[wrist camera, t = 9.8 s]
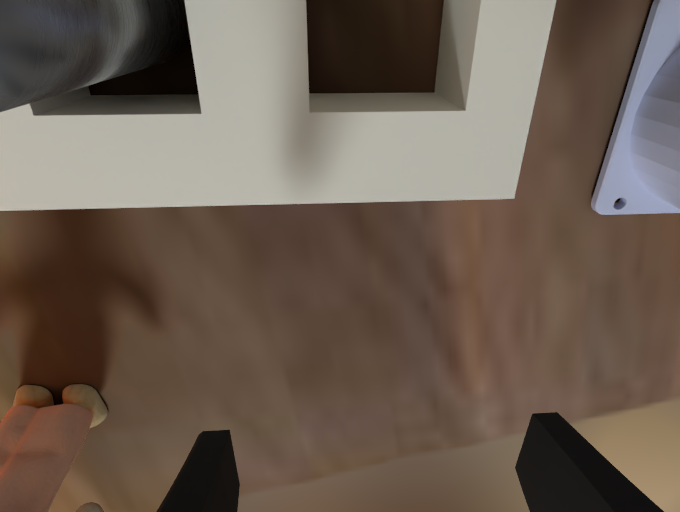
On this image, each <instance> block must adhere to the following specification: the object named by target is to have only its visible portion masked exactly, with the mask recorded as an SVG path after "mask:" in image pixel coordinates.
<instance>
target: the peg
mask: <svg viewBox="0 0 680 512" xmlns="http://www.w3.org/2000/svg"><path fill="white" fill-rule="evenodd" d="M188 36H189V28H188V21H187V14H186V8H185V1H184V0H0V112H3V111H6V110H10V109H13V108H16V107H19V106H23V105H26V104H29V103H33V102H36V101H39V100H42V99H46V98H49V97H52V96H56V95H59V94H62V93H66V92H69V91H72V90H75V89H79V88H82V87H85V86H89V85H92V84H95V83H99V82H102V81H105V80H108V79H112V78H115V77H118V76H122V75H125V74H128V73H131V72H135V71H138V70H141V69H145V68H148V67H151V66H155V65H158V64H161V63H164V62H167V61H169V60H171V59H173V58H174V57H175V56H176V55H178V54H179V53H180V51H181V50H182V49H183V47H184V46H185V44H186V42H187V39H188Z"/></svg>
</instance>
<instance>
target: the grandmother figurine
mask: <svg viewBox="0 0 680 512" xmlns="http://www.w3.org/2000/svg"><path fill="white" fill-rule="evenodd" d="M62 398H63V404H60V405H55V406H54V402H53V397H52V394H51V393H50V391H49V390H47V389H45V388H44V387H41V386H35V385H23V386H21V387H20V388H19V389H18V390H17V392H16V395H15V399H14V403H13V407H12V408H11V409H9V410H8V412H7V414H6V415H5V417H4V418H3V420H2V421H1V423H0V512H48V510H49V508H50V506H51V504H52V502H53V500H54V498H55V496H56V493H57V491H58V489H59V487H60V485H61V483H62V482H63V480H64V478H65V476H66V474H67V473H68V471H69V469H70V467H71V465H72V464H73V462H74V460H75V459H76V457H77V455H78V453H79V452H80V450H81V448H82V446H83V444H84V442H85V437H86V435H87V433H88V431H89V428H92V427H94V426H96V425H98V424H100V423H101V422H102V421H103V420H104V419H105V418H106V417H107V414H108V410H107V408H106V406H105V404H104V402H103V401H102V399H101V398H100V396H99V394H98V393H97V391H96V390H95V389H94V388H92V387H91V386H88V385H84V384H73V385H69V386H67V387H65V389H64V390H63V394H62ZM76 512H104V511H103V509H102V507H101V506H100V505H99V504H97V503H93V502H90V503H86V504H84V505H82V506H81V507H80V508H79V509H78V510H77V511H76Z"/></svg>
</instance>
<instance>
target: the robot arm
mask: <svg viewBox="0 0 680 512" xmlns="http://www.w3.org/2000/svg"><path fill="white" fill-rule="evenodd" d="M619 198H620V201H619V203H617V204H616V205H614V203H615V201H616V200H617V199H619ZM591 207H592V209H593V210H595V211H596V212H597V213H599V214H602V215H613V214H651V213H680V0H654V2H653V4H652V7H651V10H650V13H649V16H648V20H647V23H646V26H645V29H644V33H643V36H642V39H641V42H640V45H639V49H638V52H637V55H636V58H635V62H634V65H633V68H632V71H631V75H630V78H629V81H628V84H627V88H626V91H625V94H624V97H623V101H622V104H621V107H620V110H619V113H618V117H617V120H616V123H615V126H614V130H613V133H612V136H611V139H610V143H609V146H608V149H607V152H606V156H605V159H604V162H603V165H602V168H601V172H600V175H599V178H598V181H597V185H596V188H595V191H594V194H593V198H592V201H591ZM515 468H516V472H517V475H518V478H519V481H520V484H521V487H522V490H523V493H524V496H525V499H526V502H527V504H528V507H529V510H530V512H664V511H663V510H661V509H660V508H659V507H658V506H657V505H656V504H655V503H654V502H652V501H651V500H650V499H649V498H648V497H647V496H646V495H645V494H644V493H642V492H641V491H640V490H639V489H638V488H637V487H636V486H635V485H634V484H633V483H631V482H630V481H629V480H628V479H627V478H626V477H625V476H624V475H623V474H622V473H621V472H620V471H618V470H617V469H616V468H615V467H614V466H613V465H612V464H611V463H610V462H609V461H608V460H607V459H606V458H605V457H604V456H602V455H601V454H600V453H599V452H598V451H597V450H596V449H595V448H594V447H593V446H592V445H591V444H590V443H589V442H588V441H587V440H586V439H585V438H583V437H582V436H581V435H580V434H579V433H578V432H577V431H576V430H575V429H574V428H573V427H572V426H571V425H570V424H569V423H568V422H567V421H566V420H565V419H564V418H562V417H561V416H560V415H559V414H558V413H557V412H555V413H537V414H532V417H531V420H530V423H529V426H528V429H527V432H526V435H525V438H524V442H523V445H522V448H521V451H520V454H519V457H518V460H517V464H516V467H515ZM239 486H240V484H239V478H238V473H237V468H236V462H235V457H234V451H233V446H232V441H231V435H230V430H220V431H203V432H202V433H200V434H199V435H198V437H197V439H196V441H195V444H194V446H193V448H192V450H191V451H190V453H189V455H188V457H187V459H186V461H185V463H184V465H183V467H182V469H181V470H180V472H179V474H178V476H177V478H176V479H175V481H174V483H173V485H172V486H171V488H170V490H169V492H168V494H167V495H166V497H165V499H164V500H163V502H162V504H161V505H160V507H159V509H158V510H157V512H237V508H238V497H239Z"/></svg>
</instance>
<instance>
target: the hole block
mask: <svg viewBox="0 0 680 512" xmlns="http://www.w3.org/2000/svg"><path fill="white" fill-rule="evenodd" d="M184 1H185V8H186V14H187V21H188V28H189V34H190V41H191V47H192V54H193V61H194V67H195V74H196V80H197V87H198V94H195V95H90V91H89V87H88V86H85V87H82V88H79V89H75V90H72V91H69V92H66V93H62V94H59V95H56V96H52V97H49V98H46V99H42V100H39V101H36V102H33V103H29V104H26V105H23V106H19V107H16V108H13V109H10V110H6V111H3V112H0V211H12V210H54V209H97V208H140V207H182V206H225V205H268V204H310V203H353V202H396V201H438V200H481V199H514V197H515V192H516V187H517V182H518V178H519V173H520V168H521V164H522V159H523V154H524V150H525V145H526V140H527V136H528V131H529V126H530V122H531V117H532V112H533V108H534V103H535V98H536V94H537V89H538V84H539V80H540V75H541V70H542V66H543V61H544V56H545V51H546V47H547V42H548V37H549V33H550V28H551V23H552V19H553V14H554V9H555V5H556V0H444V4H443V13H442V23H441V33H440V42H439V52H438V62H437V71H436V81H435V91H434V92H430V93H312V94H309V72H308V41H307V9H306V0H184Z"/></svg>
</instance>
